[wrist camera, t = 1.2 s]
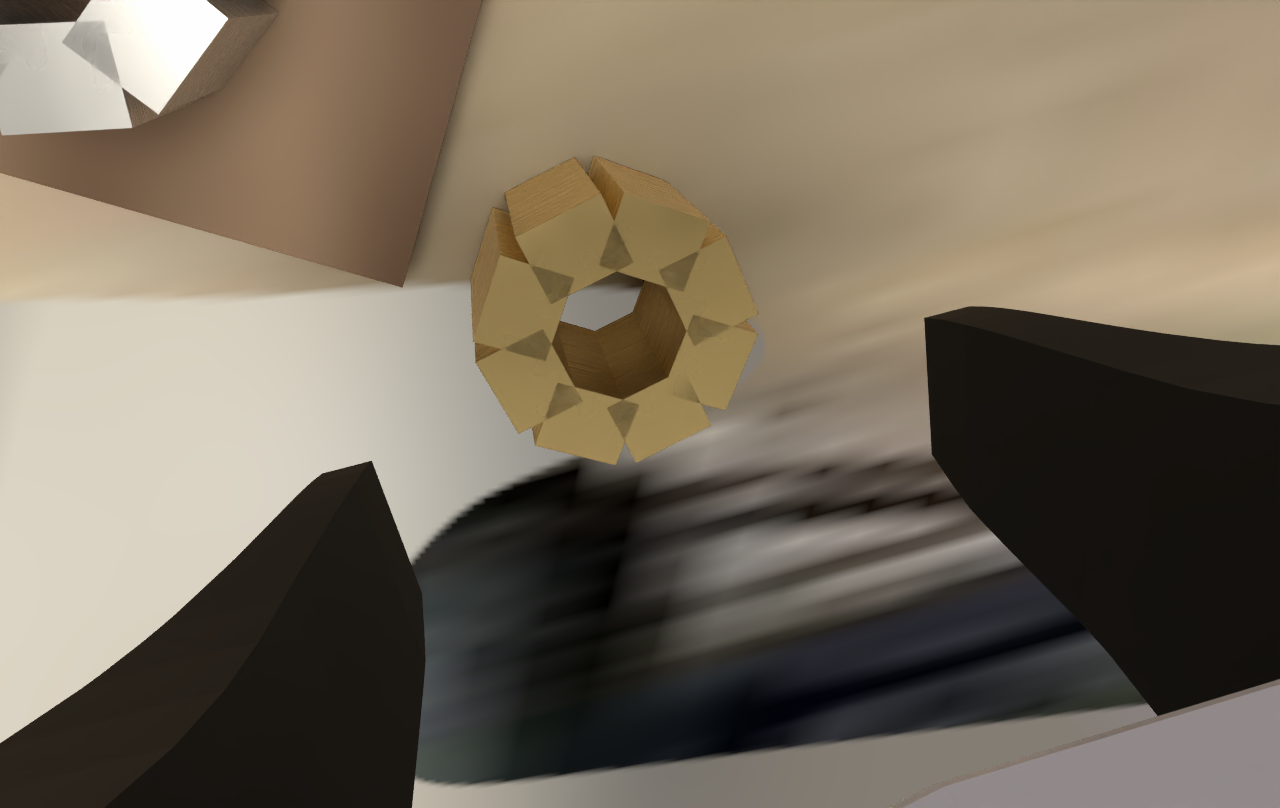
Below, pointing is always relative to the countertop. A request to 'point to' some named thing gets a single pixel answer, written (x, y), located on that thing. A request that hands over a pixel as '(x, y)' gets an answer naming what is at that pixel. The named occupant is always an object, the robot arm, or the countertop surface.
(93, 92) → the steel gear
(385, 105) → the gear board
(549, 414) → the brass gear
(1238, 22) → the countertop surface
